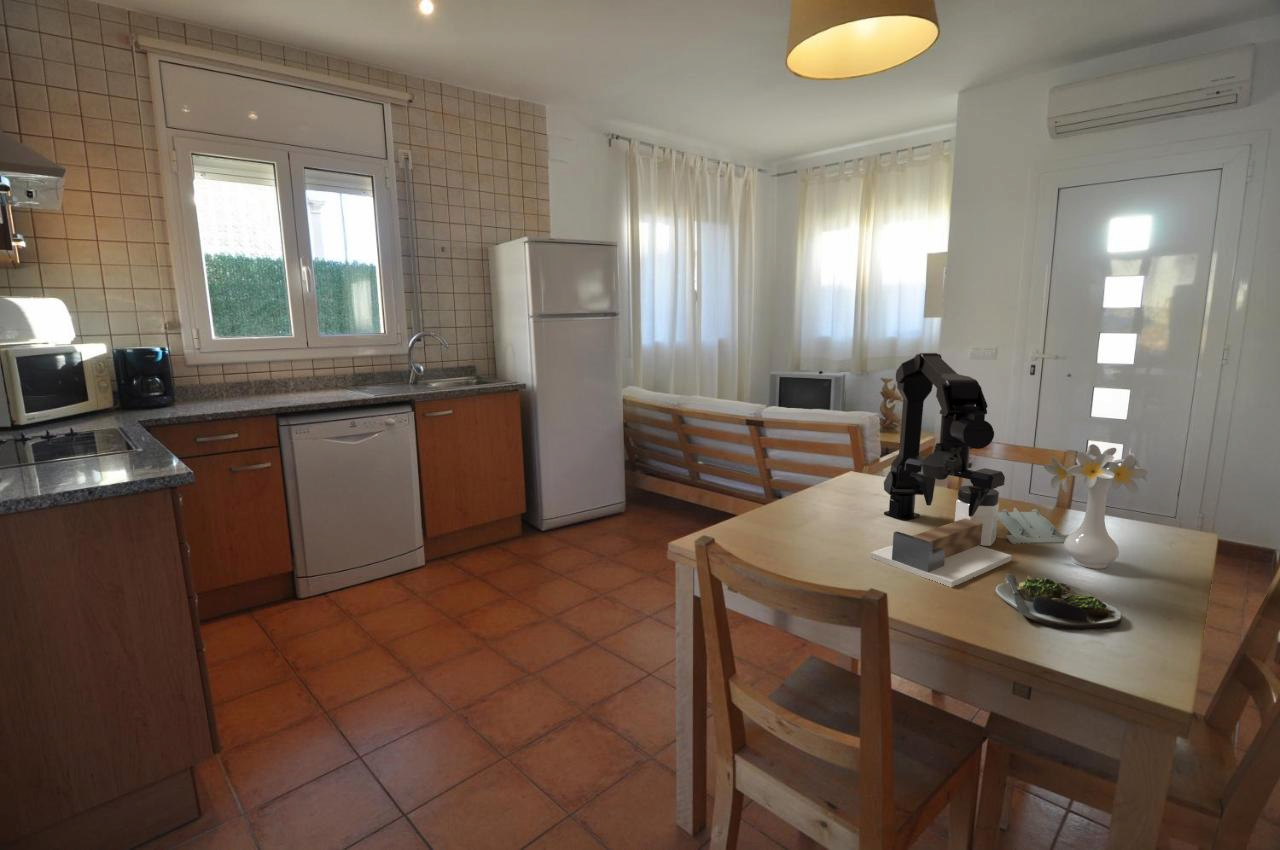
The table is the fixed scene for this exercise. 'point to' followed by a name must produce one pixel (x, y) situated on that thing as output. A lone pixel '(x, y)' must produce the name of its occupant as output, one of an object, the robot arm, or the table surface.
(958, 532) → the walnut rail
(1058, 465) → the flower vase
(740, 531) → the table surface
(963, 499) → the jar
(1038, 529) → the pale green slanted stand
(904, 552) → the bracket
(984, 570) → the mounting board
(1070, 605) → the salad plate
